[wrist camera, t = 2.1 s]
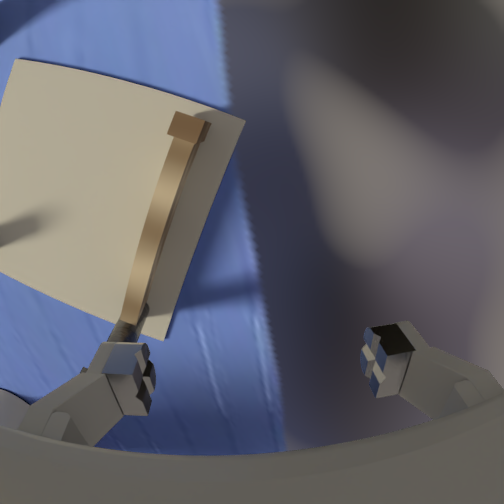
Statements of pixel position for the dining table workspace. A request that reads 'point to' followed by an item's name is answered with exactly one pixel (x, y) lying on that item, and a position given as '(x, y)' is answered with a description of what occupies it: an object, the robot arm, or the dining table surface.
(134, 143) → the mat
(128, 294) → the gate
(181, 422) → the dining table surface
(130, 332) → the gate post
